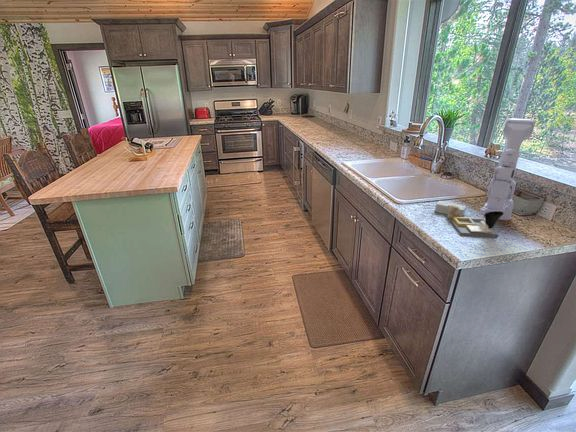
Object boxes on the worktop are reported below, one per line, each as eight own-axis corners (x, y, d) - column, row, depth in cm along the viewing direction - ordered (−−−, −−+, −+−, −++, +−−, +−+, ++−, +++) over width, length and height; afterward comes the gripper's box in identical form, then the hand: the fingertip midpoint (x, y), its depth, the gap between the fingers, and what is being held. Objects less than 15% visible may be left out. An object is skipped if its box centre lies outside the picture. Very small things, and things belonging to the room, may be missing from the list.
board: (483, 223, 135) (484, 218, 134) (497, 237, 123) (498, 231, 122) (449, 221, 137) (450, 216, 136) (460, 235, 125) (461, 230, 124)
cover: (481, 227, 128) (483, 220, 127) (486, 232, 124) (488, 226, 122) (466, 226, 129) (467, 220, 128) (470, 231, 125) (472, 225, 123)
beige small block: (454, 217, 142) (457, 205, 139) (457, 220, 138) (460, 208, 136) (445, 216, 142) (448, 204, 140) (448, 220, 139) (451, 208, 136)
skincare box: (439, 200, 150) (466, 205, 143) (437, 208, 152) (464, 213, 145) (435, 204, 146) (464, 209, 139) (434, 212, 148) (462, 218, 141)
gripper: (500, 190, 125) (491, 220, 131) (475, 195, 121) (467, 226, 126) (517, 196, 119) (508, 227, 125) (492, 201, 115) (483, 233, 120)
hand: (489, 227), depth 125 cm, fingers closed
